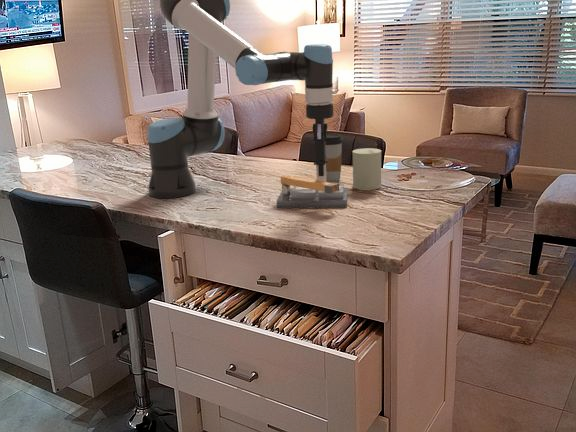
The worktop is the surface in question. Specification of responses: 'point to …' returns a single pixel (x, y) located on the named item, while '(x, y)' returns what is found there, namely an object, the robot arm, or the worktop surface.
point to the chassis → (311, 197)
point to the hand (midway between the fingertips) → (321, 186)
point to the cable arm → (310, 184)
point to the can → (367, 169)
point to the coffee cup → (333, 157)
